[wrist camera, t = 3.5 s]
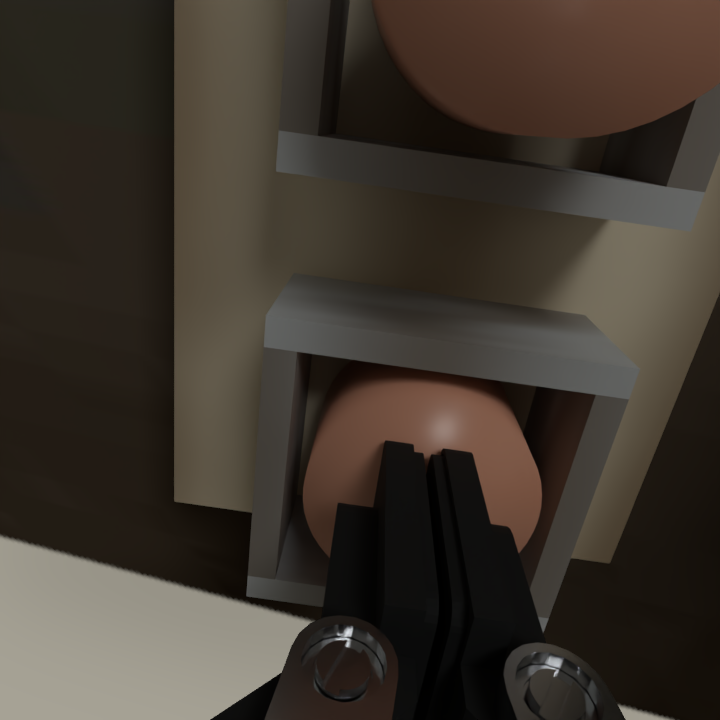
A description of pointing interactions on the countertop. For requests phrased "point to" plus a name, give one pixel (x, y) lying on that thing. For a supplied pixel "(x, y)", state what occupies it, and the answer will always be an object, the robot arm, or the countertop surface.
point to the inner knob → (554, 60)
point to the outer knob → (417, 442)
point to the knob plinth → (418, 275)
